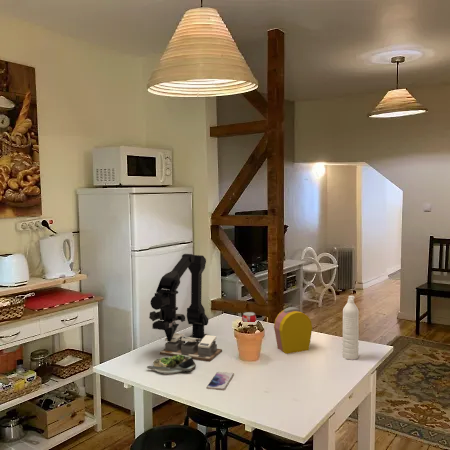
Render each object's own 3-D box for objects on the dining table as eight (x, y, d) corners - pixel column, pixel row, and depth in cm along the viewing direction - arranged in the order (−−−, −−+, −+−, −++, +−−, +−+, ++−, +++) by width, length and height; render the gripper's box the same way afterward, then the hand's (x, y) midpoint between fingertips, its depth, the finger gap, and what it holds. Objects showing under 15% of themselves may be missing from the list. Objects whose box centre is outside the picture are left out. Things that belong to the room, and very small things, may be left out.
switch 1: (174, 335, 211) (174, 332, 211) (183, 336, 209) (183, 333, 209) (165, 340, 204) (165, 338, 204) (175, 342, 202) (175, 339, 202)
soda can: (257, 340, 219) (256, 315, 218) (242, 340, 219) (241, 315, 218) (256, 336, 226) (256, 311, 225) (241, 336, 226) (241, 311, 225)
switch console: (174, 345, 214) (173, 330, 214) (222, 351, 205) (221, 336, 204) (159, 354, 202) (159, 339, 202) (209, 361, 193) (209, 346, 193)
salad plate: (148, 379, 177) (148, 367, 176) (144, 362, 194) (144, 352, 194) (199, 373, 182) (198, 362, 181) (190, 357, 199) (190, 347, 199)
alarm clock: (302, 344, 213) (302, 304, 212) (312, 349, 206) (312, 308, 204) (273, 348, 208) (273, 307, 207) (282, 354, 200) (281, 312, 199)
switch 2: (206, 336, 205) (205, 334, 204) (216, 338, 203) (216, 335, 202) (198, 347, 198) (197, 344, 197) (209, 348, 196) (208, 346, 195)
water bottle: (357, 360, 192) (358, 300, 190) (341, 359, 194) (342, 299, 192) (359, 353, 200) (359, 296, 198) (343, 352, 202) (343, 295, 200)
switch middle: (189, 339, 208) (189, 337, 208) (199, 340, 206) (200, 338, 206) (181, 340, 201) (181, 337, 201) (191, 341, 199) (191, 339, 199)
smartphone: (205, 387, 167) (217, 371, 182) (205, 389, 167) (217, 373, 182) (224, 389, 166) (234, 372, 180) (224, 391, 166) (234, 374, 180)
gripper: (164, 300, 213) (164, 333, 214) (141, 307, 196) (141, 344, 197) (185, 302, 209) (185, 336, 210) (164, 310, 192) (164, 347, 192)
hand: (169, 341), depth 202 cm, fingers closed
